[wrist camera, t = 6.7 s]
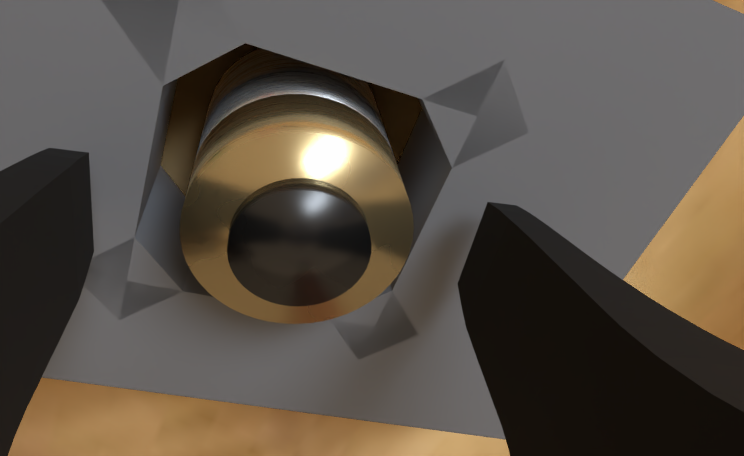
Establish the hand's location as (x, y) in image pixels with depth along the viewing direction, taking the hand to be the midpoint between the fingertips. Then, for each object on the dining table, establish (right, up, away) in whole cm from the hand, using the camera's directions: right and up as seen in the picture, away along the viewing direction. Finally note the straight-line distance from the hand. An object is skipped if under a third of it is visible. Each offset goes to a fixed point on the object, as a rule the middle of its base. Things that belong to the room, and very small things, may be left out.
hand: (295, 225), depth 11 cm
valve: (0, +2, +3) cm, 4 cm away
